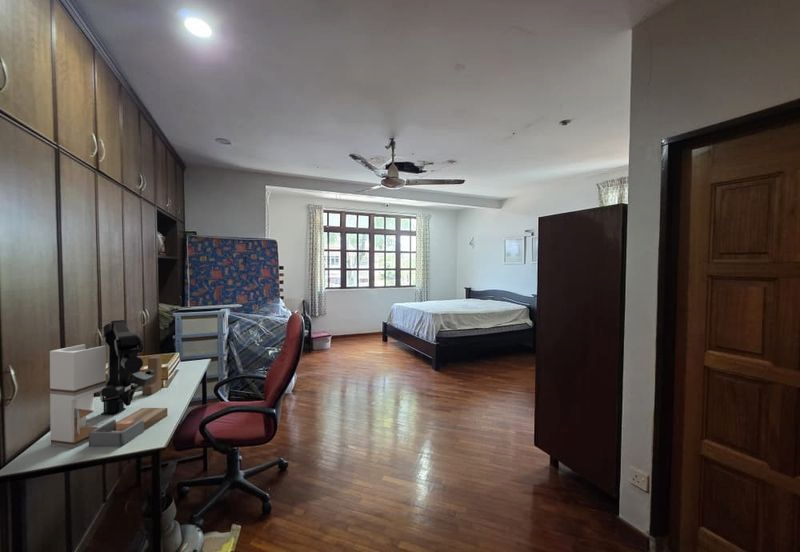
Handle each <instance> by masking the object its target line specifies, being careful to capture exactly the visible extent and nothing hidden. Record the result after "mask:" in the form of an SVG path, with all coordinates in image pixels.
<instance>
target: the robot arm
mask: <svg viewBox="0 0 800 552" xmlns="http://www.w3.org/2000/svg"><path fill="white" fill-rule="evenodd" d="M101 338H102V339H103V341H104V342H105V344H106V345H107V346H108V347H107V377H106V387H105V388H103V389H102V390H101V391H100V395H99V397H100V398H99V400H100V402H101V403H103V412H101V413H100V415H101V416H102V415H103V416H104V415H105V416H109V415H110V416H115V415H117V414H119V413H121V412H123V411H125V410H127V409H126V407H129V406H130V405H131V402H132V401H133V397H134V395H135V393H136V391H137V390H138V389H139V388H142V387H144V386H145V385H147V384H150V382H151V379H153V378H154V371H152V370H149V371H148V370H147V371H143V372H142V371H141V369H142V367H143V366H144V361H143V360H142V358H141V357H140V356H139V355H138V353H140V354H141V353H143V350H144V345H143V341H142V339H141V336H139V335H138V334H137V333H136V332H133V331H132V332H131V331H130V328H129V327H128V323H127V322H126V319H117V320H110V321H109V323H107V324H104V325H103V326H102V328H101ZM125 406H126V407H125Z"/></svg>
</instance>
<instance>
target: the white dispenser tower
mask: <svg viewBox="0 0 800 552" xmlns="http://www.w3.org/2000/svg"><path fill="white" fill-rule="evenodd" d="M106 350H107V346H106V345H101V346H96V347H90V348H88V349H87V348H86V344H85V343H84V344H83V343H82V344H79V345H73V346H69V347H63V348H59V349H58V348H57V349H53V350H50V351H49V402H50V404H49V408H50V409H49V413H50V419H49V420H50V428H49V429H50V446H53V445H55V447H62V448H68V449H69V448H70V449H75V448H78V447H80V446H82V445H85V444H87V443H89V433H90V432H92V431H93V430H95V429H97V428H99V427H100V426H99V427H98V426H90V425H89V426H88V425H87V424H86V423H87V420H86V419H87V418H86V416H88V415H90V414H92V413H94V412H95V409H94V407H95V404H94V403H95V401H94V397H95V396H94V394H96V393H98V392H101V390H102V389H103V388H105V387H106V379H107V360H106V359H107V357H106V356H107V351H106Z"/></svg>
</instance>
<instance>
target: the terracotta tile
mask: <svg viewBox="0 0 800 552" xmlns="http://www.w3.org/2000/svg"><path fill="white" fill-rule="evenodd" d="M119 421H120V420H119ZM117 422H118V421H117ZM133 424H134V421H120V422H118V423H116V431H124V430H125V429H127V428H129V427H130V426H132V425H133Z"/></svg>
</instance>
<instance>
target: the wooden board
mask: <svg viewBox="0 0 800 552" xmlns="http://www.w3.org/2000/svg"><path fill="white" fill-rule="evenodd" d="M167 417H168V407H141V408H140V409H138V410H136V411H134V412H132V413H131V414H129V415H127V416H125V417H123V418H121V419H119V420H118V421H116V423H118V422H120V421H134V424H135V423H137V422H138V421H140V420H144V432H145V431H147V430H148V429H150V428H151V427H152V426H154V425H156V424H158V423H159V422H160V421H162V420H163V419H165V418H167Z"/></svg>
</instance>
